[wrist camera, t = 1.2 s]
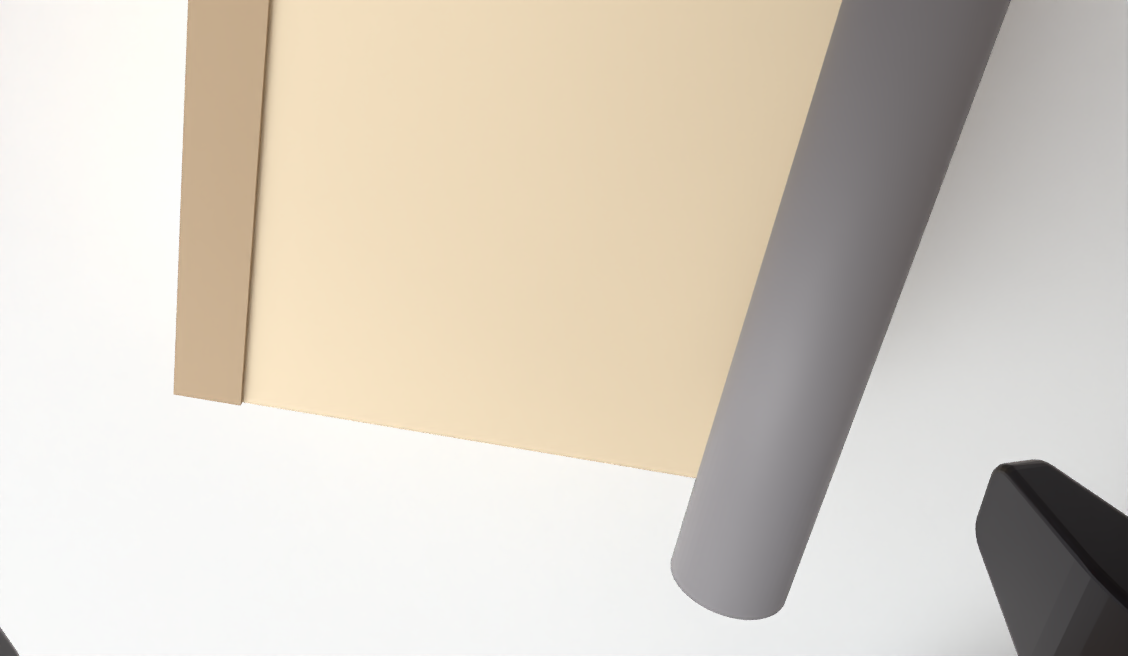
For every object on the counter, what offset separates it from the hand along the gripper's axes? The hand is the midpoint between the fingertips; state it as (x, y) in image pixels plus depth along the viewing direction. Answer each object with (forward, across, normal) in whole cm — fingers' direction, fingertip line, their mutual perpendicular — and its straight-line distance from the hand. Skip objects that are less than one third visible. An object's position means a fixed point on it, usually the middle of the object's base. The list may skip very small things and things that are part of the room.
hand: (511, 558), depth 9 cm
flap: (+9, -1, +1) cm, 10 cm away
